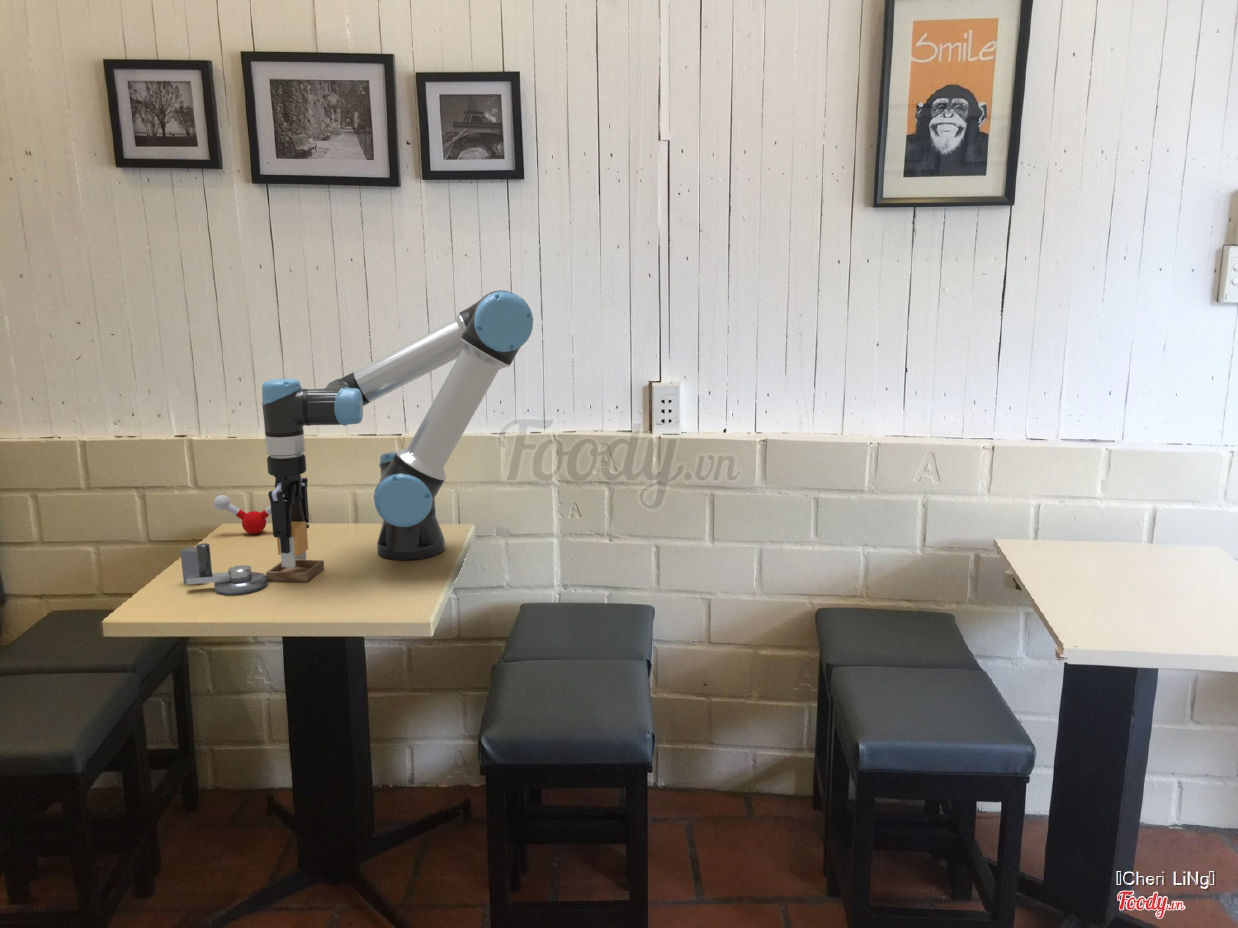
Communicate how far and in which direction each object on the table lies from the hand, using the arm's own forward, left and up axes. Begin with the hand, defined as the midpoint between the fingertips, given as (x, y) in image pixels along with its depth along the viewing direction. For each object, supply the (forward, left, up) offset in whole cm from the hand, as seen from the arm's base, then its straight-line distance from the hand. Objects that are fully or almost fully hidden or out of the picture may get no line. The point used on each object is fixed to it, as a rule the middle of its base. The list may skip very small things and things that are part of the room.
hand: (294, 562), depth 198 cm
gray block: (+19, +5, -3) cm, 20 cm away
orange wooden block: (0, 0, +2) cm, 2 cm away
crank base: (+8, +8, -3) cm, 12 cm away
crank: (+12, +9, -1) cm, 15 cm away
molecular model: (+24, -29, -3) cm, 38 cm away
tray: (0, 0, -3) cm, 3 cm away
